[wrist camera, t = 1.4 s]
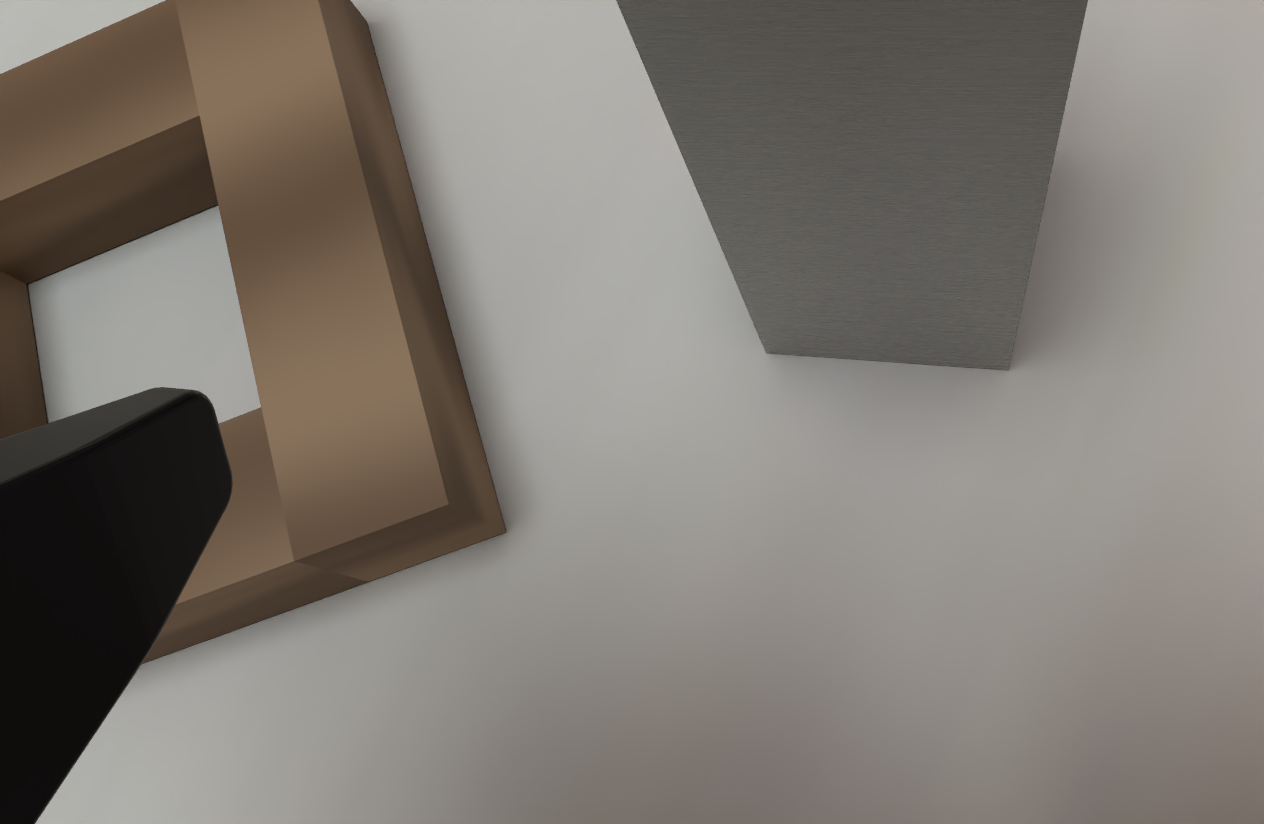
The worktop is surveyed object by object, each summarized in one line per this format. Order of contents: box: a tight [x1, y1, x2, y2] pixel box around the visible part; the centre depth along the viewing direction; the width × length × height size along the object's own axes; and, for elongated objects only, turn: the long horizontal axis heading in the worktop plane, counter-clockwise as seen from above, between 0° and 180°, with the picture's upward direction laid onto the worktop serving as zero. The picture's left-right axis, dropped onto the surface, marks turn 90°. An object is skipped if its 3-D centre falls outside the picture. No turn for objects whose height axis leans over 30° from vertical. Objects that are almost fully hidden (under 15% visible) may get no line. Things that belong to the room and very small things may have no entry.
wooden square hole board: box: [0, 0, 506, 663], centre depth 25 cm, size 12×12×3 cm
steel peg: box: [616, 0, 1088, 370], centre depth 18 cm, size 4×4×12 cm
